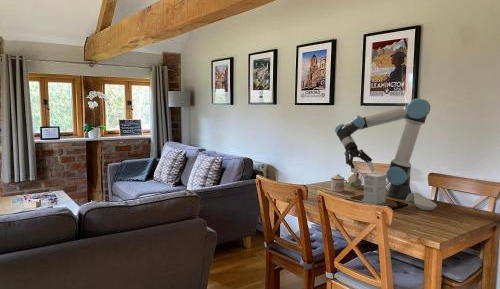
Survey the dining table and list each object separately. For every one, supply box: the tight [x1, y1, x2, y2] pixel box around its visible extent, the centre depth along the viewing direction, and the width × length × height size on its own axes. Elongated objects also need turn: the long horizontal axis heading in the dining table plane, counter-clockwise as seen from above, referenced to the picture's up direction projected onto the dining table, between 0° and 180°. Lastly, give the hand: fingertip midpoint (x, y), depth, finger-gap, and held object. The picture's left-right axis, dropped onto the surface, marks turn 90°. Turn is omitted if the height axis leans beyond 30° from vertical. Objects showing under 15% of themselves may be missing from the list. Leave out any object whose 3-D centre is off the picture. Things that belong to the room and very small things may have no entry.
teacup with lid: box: [330, 173, 349, 193], centre depth 265 cm, size 12×9×12 cm
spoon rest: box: [405, 192, 437, 211], centre depth 225 cm, size 24×12×7 cm, turn 6°
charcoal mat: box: [360, 198, 390, 207], centre depth 230 cm, size 13×13×1 cm
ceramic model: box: [346, 173, 364, 190], centre depth 276 cm, size 14×11×10 cm
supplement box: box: [363, 172, 387, 204], centre depth 229 cm, size 10×9×17 cm
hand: (365, 171), depth 235 cm, fingers open, 13 cm apart
